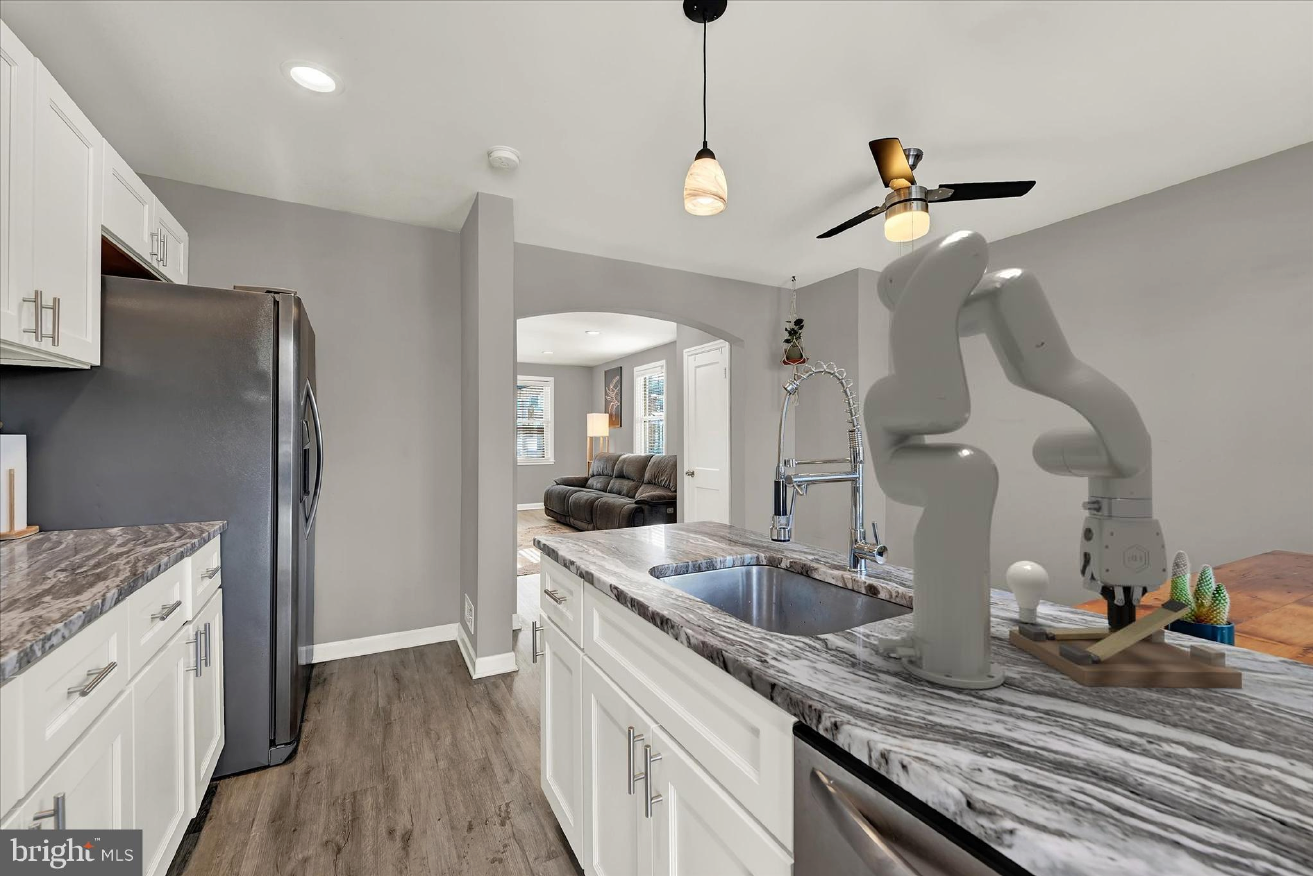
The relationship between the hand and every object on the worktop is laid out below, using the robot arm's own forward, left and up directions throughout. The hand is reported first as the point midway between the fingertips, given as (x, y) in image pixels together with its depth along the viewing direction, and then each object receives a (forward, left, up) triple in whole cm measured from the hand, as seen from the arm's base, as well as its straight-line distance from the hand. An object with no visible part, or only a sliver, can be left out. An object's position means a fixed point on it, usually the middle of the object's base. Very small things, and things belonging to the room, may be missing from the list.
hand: (1121, 628), depth 84 cm
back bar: (-5, 0, -1) cm, 5 cm away
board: (-5, -5, -3) cm, 7 cm away
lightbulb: (-6, +13, -4) cm, 15 cm away
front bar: (-6, -9, +2) cm, 11 cm away
